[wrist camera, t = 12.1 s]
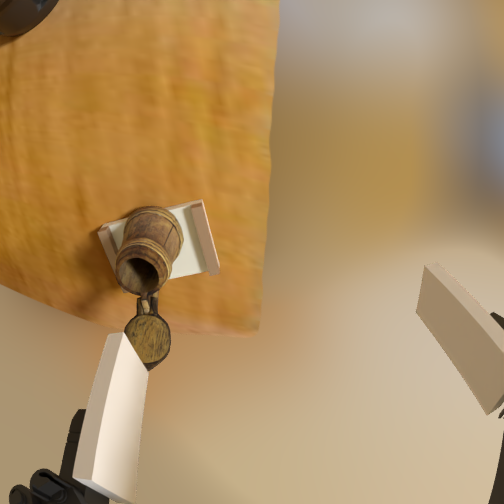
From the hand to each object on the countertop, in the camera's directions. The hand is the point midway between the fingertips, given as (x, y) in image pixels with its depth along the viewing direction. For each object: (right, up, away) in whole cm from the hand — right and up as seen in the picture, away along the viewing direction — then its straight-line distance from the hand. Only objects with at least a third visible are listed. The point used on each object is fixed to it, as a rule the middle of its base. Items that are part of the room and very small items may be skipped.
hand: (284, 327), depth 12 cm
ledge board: (-15, +4, +33) cm, 37 cm away
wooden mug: (-16, +4, +32) cm, 36 cm away
